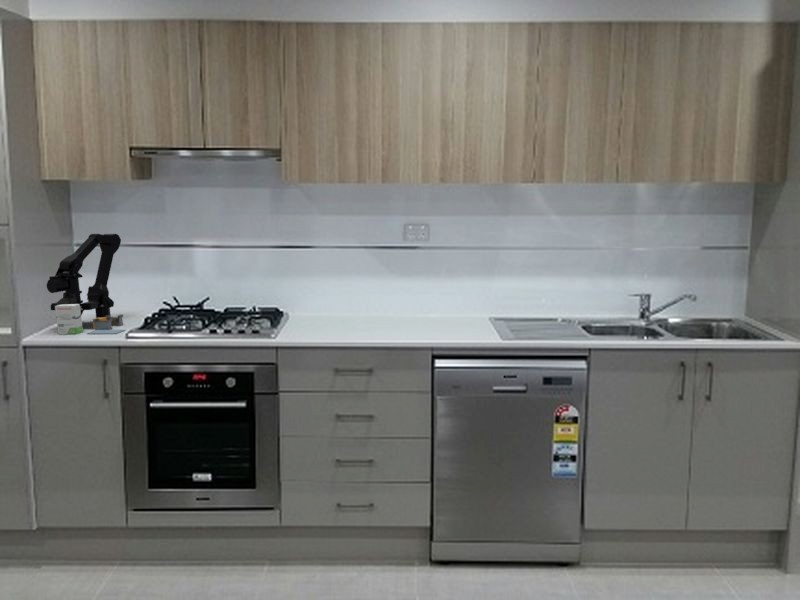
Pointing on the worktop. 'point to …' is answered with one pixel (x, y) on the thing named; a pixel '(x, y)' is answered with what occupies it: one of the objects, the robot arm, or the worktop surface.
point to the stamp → (92, 323)
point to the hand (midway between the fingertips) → (76, 325)
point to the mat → (105, 331)
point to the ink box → (69, 319)
